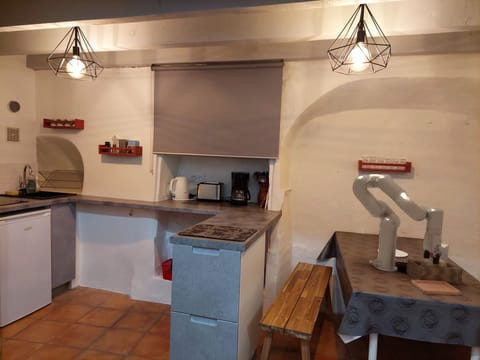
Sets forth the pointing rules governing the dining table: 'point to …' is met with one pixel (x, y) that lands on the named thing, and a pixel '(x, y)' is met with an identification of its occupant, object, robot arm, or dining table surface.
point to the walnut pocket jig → (434, 272)
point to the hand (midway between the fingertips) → (431, 261)
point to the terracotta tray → (435, 287)
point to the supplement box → (444, 255)
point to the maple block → (430, 263)
